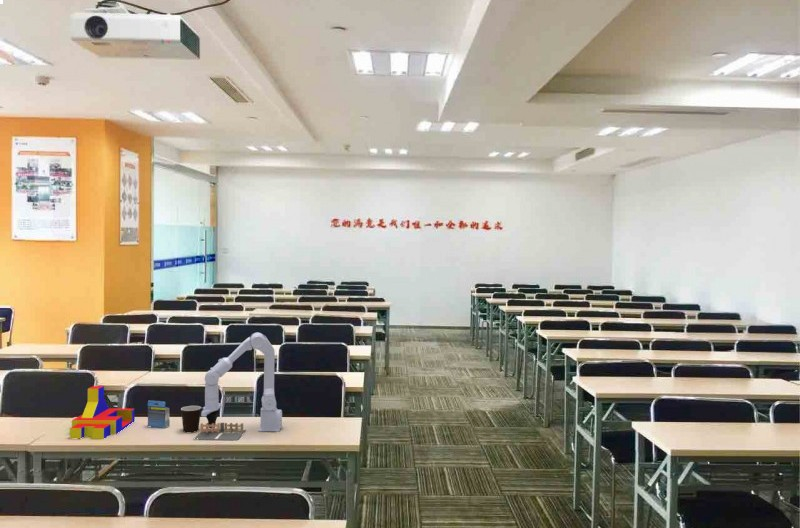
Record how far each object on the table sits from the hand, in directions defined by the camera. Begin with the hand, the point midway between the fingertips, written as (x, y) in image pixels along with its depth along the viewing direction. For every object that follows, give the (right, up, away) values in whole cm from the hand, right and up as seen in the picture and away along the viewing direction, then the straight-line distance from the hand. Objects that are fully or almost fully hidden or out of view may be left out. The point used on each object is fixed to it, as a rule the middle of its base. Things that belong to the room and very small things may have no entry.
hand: (211, 428), depth 255 cm
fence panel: (0, -2, -1) cm, 2 cm away
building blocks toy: (-50, -2, +2) cm, 50 cm away
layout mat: (+5, -2, -3) cm, 6 cm away
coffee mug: (-10, -2, +4) cm, 11 cm away
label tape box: (-27, -2, +8) cm, 28 cm away
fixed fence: (+9, -2, -1) cm, 9 cm away
